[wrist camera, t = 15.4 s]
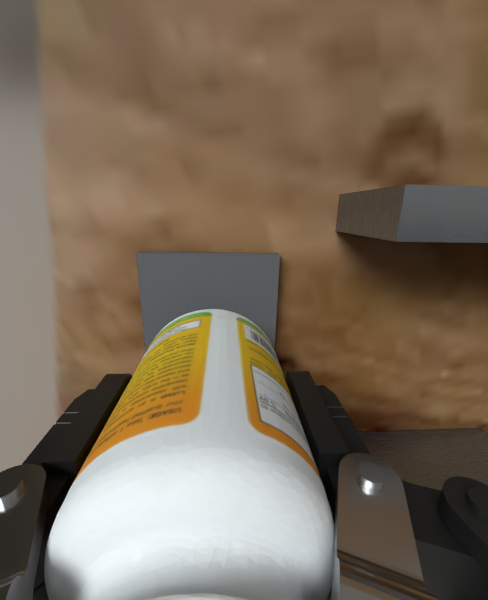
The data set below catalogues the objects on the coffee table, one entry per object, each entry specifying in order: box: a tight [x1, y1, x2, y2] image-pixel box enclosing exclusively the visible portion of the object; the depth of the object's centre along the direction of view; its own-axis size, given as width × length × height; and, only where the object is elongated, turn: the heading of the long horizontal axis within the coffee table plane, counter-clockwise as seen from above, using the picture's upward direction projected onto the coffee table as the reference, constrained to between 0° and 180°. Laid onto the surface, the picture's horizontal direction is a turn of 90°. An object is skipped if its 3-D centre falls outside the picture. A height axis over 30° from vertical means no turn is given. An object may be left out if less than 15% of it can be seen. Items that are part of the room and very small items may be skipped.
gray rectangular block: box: [136, 252, 280, 351], centre depth 13 cm, size 6×9×1 cm, turn 179°
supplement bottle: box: [44, 309, 335, 600], centre depth 7 cm, size 5×5×10 cm
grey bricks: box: [336, 185, 488, 491], centre depth 12 cm, size 10×14×4 cm
